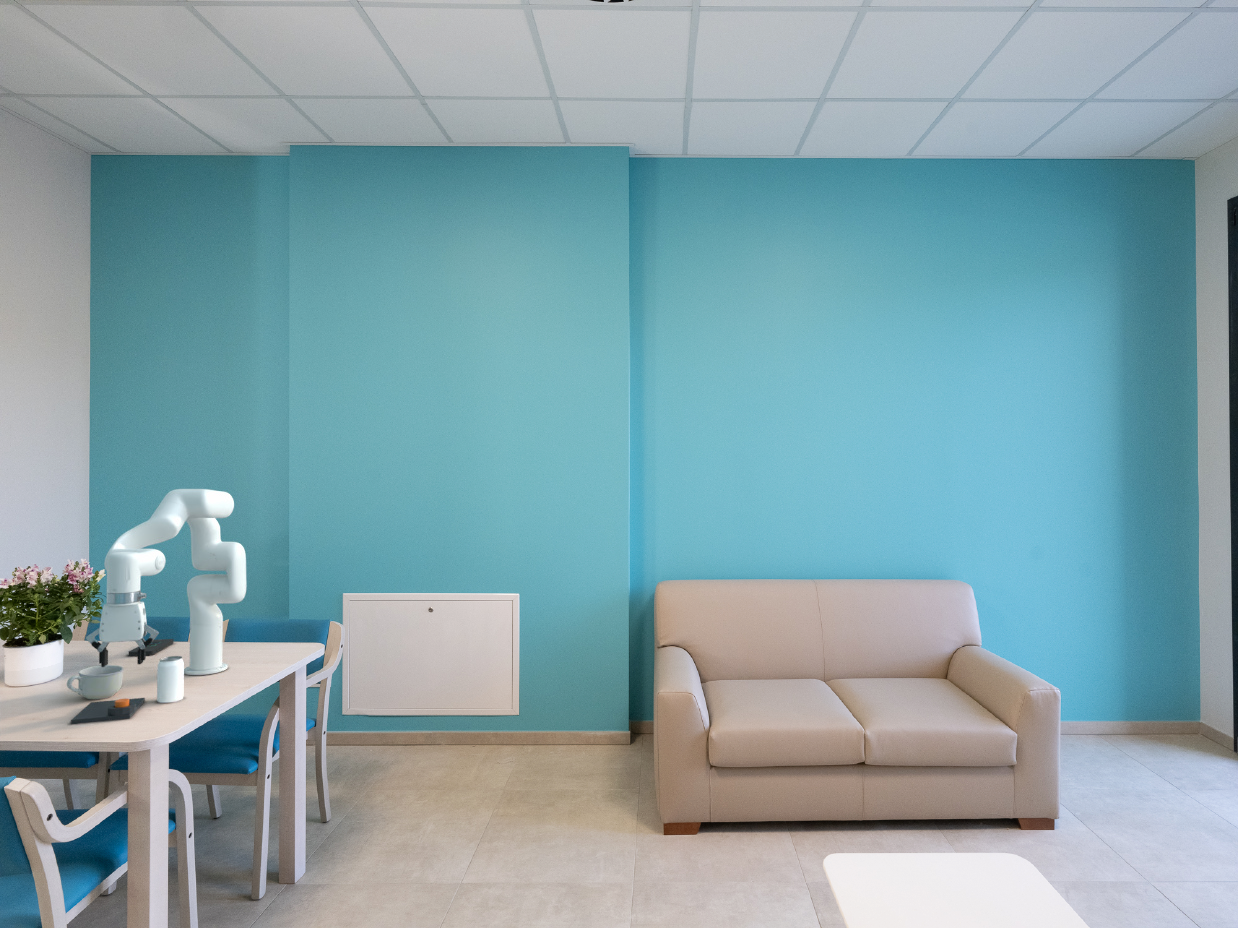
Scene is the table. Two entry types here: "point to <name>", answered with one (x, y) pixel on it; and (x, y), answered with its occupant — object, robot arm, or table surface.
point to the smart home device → (153, 647)
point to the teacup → (98, 681)
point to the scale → (107, 711)
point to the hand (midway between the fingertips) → (122, 664)
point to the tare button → (121, 703)
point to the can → (170, 679)
